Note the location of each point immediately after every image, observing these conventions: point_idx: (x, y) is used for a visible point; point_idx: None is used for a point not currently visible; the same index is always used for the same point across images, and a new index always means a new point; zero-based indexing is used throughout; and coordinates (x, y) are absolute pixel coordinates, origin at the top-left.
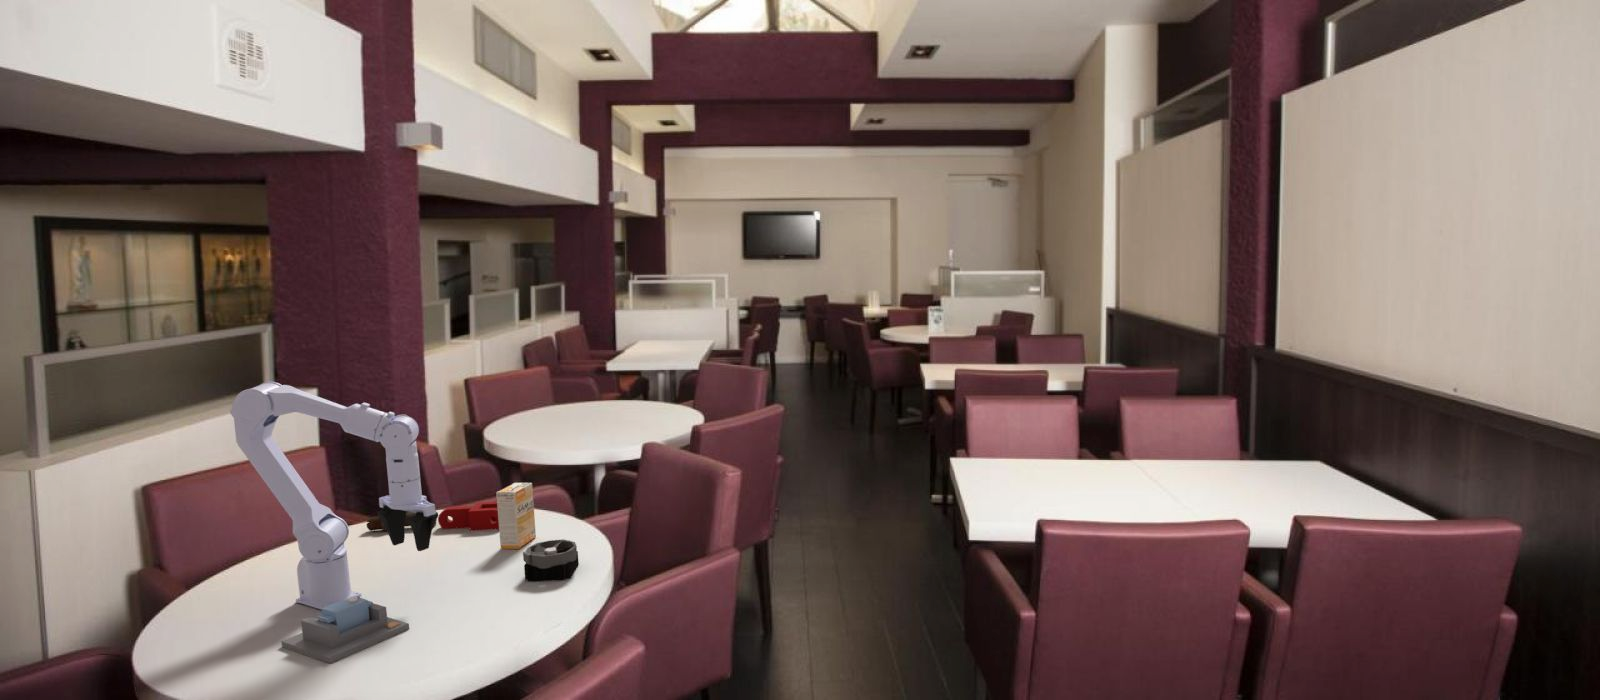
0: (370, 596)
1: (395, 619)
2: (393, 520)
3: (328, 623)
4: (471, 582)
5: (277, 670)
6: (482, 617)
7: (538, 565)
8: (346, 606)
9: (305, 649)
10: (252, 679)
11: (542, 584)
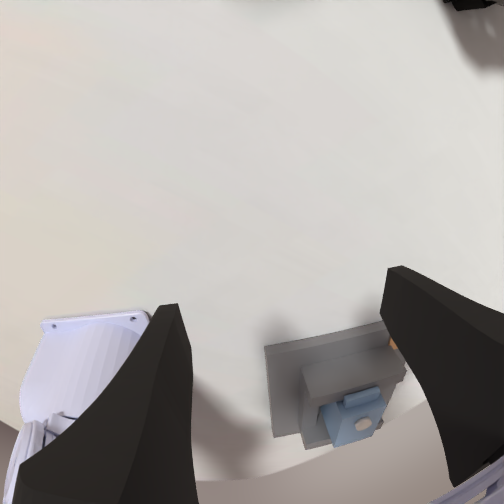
0: (162, 295)
1: (385, 328)
2: (181, 476)
3: None
4: (337, 57)
5: None
6: (494, 207)
7: (500, 2)
8: (369, 427)
9: None
10: (328, 445)
11: (485, 21)
